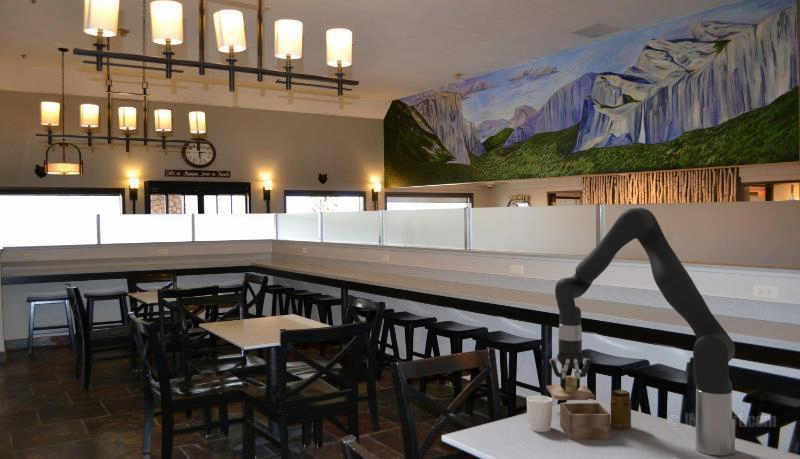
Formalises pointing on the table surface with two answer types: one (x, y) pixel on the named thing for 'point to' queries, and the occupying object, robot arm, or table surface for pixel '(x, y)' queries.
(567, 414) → the box
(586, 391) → the lid
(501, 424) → the table surface
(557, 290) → the robot arm
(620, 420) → the condiment
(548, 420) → the white cup
